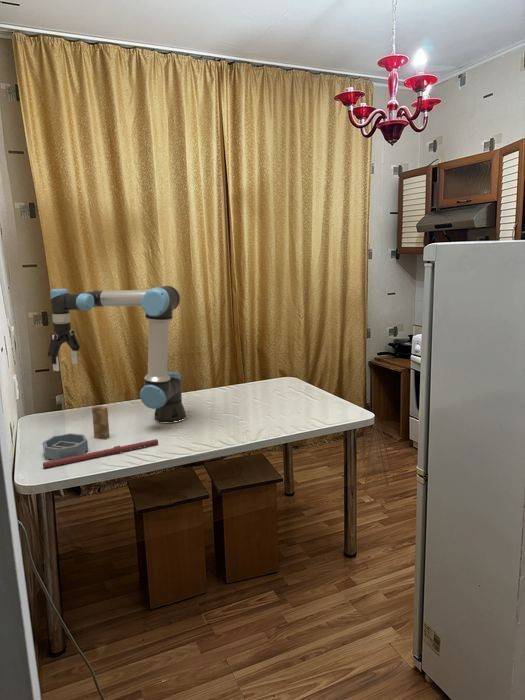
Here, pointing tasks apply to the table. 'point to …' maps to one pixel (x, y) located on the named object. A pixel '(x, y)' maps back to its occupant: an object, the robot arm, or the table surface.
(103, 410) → the flat wood plank
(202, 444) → the table surface
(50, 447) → the octagonal blue tray
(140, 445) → the rolling pin
